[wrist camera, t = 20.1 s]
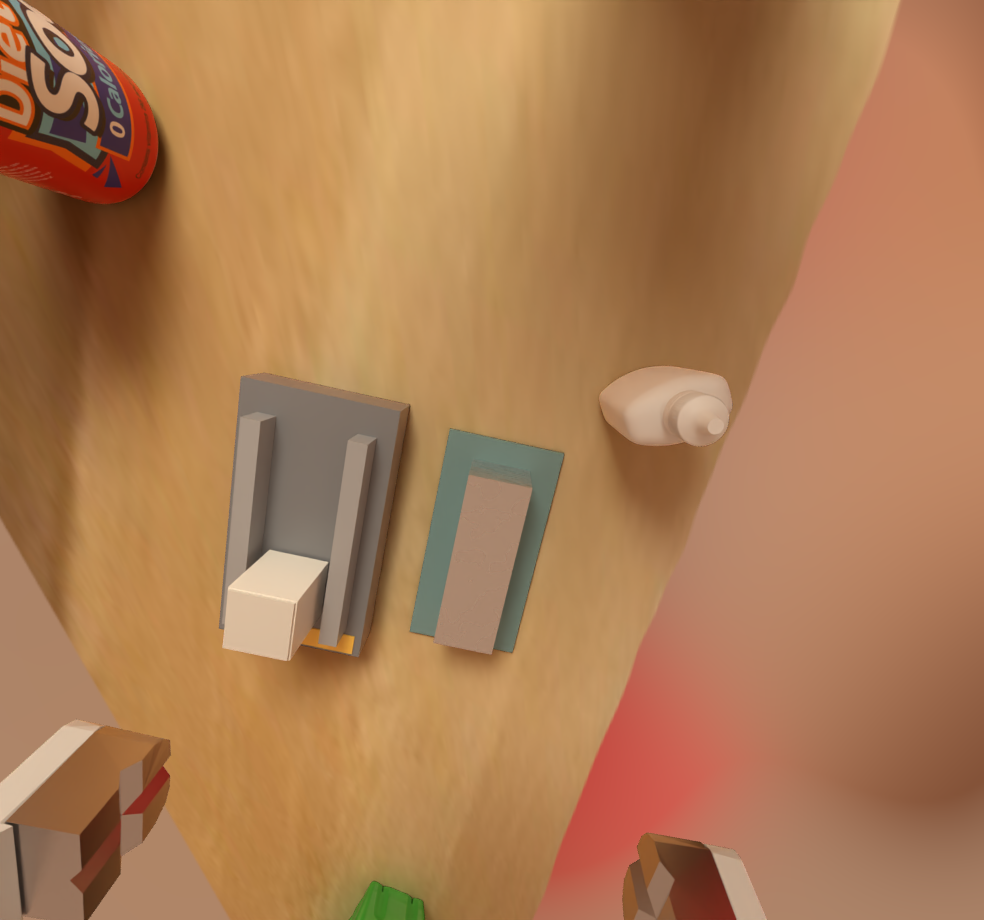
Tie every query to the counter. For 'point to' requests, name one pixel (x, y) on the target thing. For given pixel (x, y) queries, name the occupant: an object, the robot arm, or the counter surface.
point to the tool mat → (446, 521)
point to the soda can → (69, 113)
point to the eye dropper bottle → (668, 406)
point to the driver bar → (483, 556)
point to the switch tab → (274, 605)
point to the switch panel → (316, 493)
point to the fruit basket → (388, 905)
